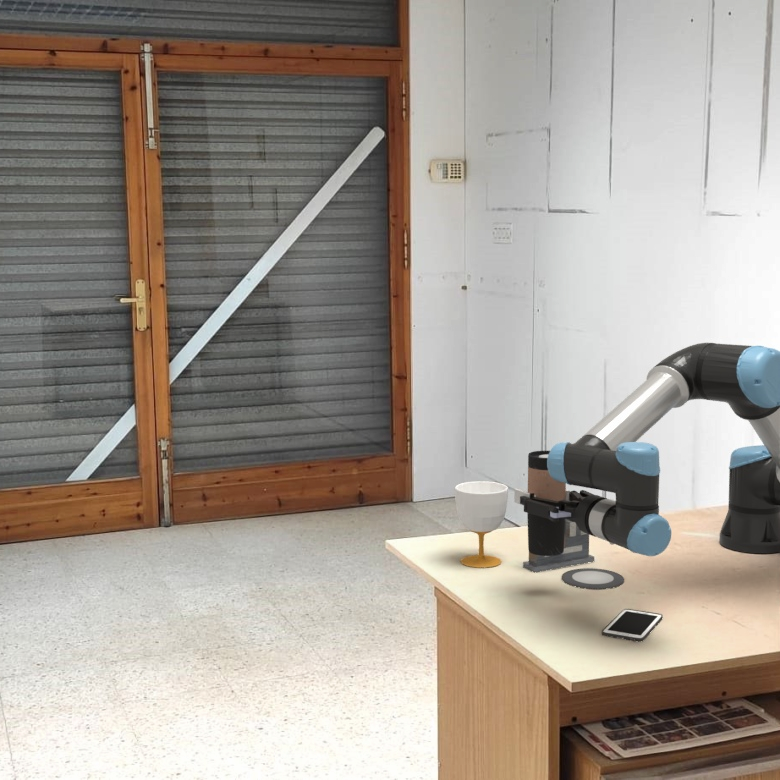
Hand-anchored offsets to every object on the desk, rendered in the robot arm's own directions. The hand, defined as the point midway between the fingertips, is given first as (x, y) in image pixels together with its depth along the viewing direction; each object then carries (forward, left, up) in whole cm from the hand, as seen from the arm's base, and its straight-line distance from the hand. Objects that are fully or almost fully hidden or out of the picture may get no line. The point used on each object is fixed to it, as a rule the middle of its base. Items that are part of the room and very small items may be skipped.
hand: (532, 493), depth 231 cm
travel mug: (-4, +2, -11) cm, 12 cm away
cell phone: (-26, +12, -20) cm, 35 cm away
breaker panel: (+1, -16, -20) cm, 26 cm away
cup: (+17, -9, -20) cm, 28 cm away
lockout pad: (-9, -10, -20) cm, 24 cm away
